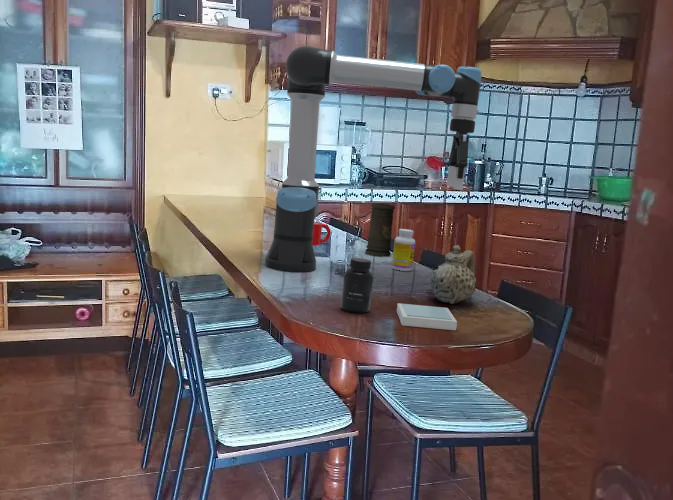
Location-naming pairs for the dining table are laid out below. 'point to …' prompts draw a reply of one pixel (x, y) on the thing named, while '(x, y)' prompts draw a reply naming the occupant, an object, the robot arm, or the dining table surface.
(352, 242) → the dining table surface
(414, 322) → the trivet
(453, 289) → the teapot
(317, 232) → the mug
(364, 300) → the supplement bottle
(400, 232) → the supplement bottle
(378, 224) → the container
